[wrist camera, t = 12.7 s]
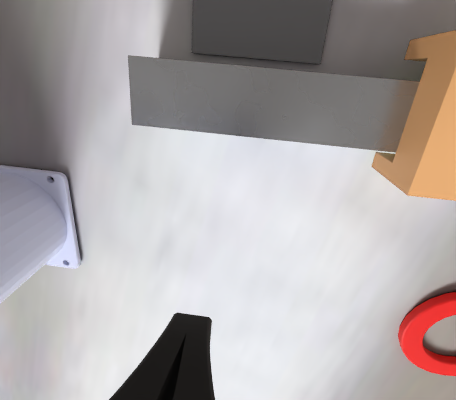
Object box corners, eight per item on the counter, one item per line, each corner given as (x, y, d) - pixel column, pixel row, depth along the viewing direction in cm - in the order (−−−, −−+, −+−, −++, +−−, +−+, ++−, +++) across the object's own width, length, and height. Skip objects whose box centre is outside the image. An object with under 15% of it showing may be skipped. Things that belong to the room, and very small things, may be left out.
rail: (159, 138, 18) (115, 166, 12) (157, 29, 15) (101, 4, 10) (465, 171, 17) (564, 217, 11) (516, 59, 14) (674, 49, 9)
